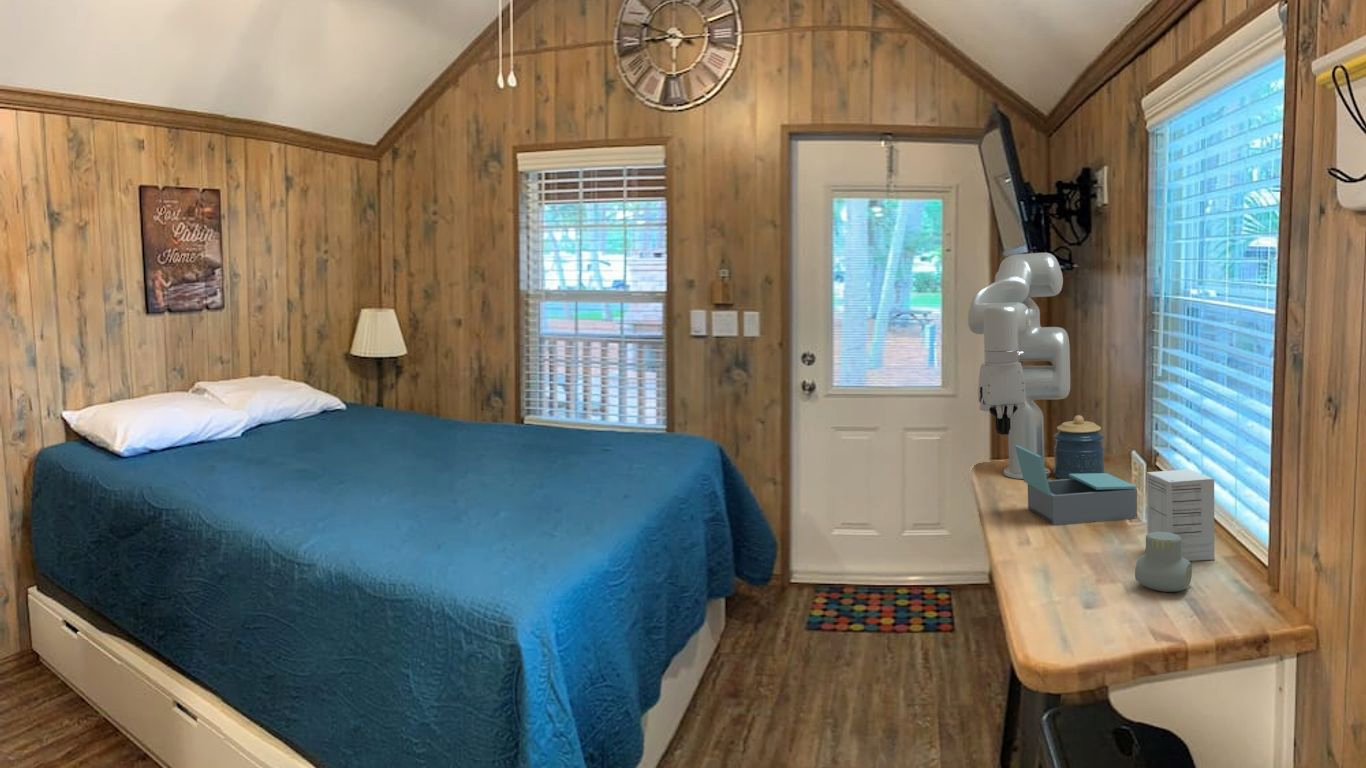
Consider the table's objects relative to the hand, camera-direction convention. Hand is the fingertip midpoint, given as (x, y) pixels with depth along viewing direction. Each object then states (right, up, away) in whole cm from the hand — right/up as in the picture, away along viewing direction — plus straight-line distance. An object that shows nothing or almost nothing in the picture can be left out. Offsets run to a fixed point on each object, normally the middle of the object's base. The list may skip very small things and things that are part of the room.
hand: (1003, 433), depth 209 cm
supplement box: (+26, -24, -28) cm, 45 cm away
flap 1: (+8, -9, +2) cm, 12 cm away
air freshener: (+14, -27, -44) cm, 54 cm away
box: (+20, -20, +3) cm, 28 cm away
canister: (+35, -15, +37) cm, 53 cm away
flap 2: (+25, -12, +3) cm, 28 cm away
